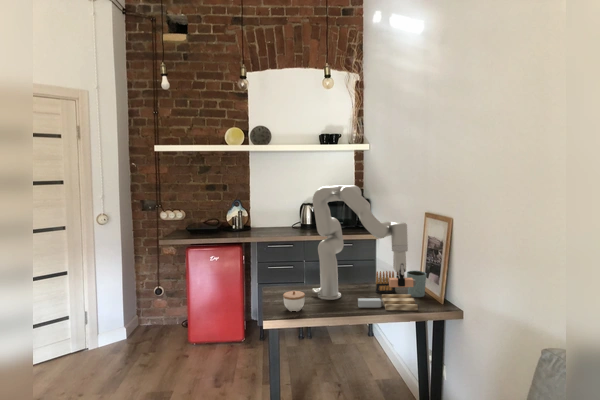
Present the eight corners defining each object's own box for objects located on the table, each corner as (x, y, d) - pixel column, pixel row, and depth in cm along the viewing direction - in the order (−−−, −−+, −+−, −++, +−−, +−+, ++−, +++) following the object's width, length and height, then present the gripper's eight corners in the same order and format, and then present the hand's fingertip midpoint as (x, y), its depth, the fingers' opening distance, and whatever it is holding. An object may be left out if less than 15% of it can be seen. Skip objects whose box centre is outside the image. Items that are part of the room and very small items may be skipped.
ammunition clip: (394, 291, 211) (394, 270, 210) (395, 292, 209) (395, 271, 208) (375, 291, 211) (375, 270, 210) (376, 292, 209) (375, 271, 208)
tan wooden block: (390, 287, 182) (390, 279, 182) (389, 285, 186) (388, 277, 186) (415, 287, 181) (415, 279, 181) (414, 284, 185) (414, 277, 184)
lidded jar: (307, 306, 190) (306, 288, 190) (302, 313, 180) (302, 294, 179) (286, 305, 193) (286, 287, 192) (281, 312, 182) (280, 293, 182)
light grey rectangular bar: (358, 307, 186) (358, 300, 186) (358, 305, 190) (357, 298, 190) (383, 307, 186) (383, 300, 185) (382, 305, 189) (382, 298, 189)
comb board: (385, 310, 182) (385, 305, 181) (381, 299, 198) (381, 294, 197) (417, 310, 180) (417, 305, 180) (410, 299, 196) (410, 294, 196)
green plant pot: (406, 291, 209) (405, 270, 208) (425, 292, 207) (425, 270, 206) (407, 297, 199) (407, 275, 198) (427, 298, 197) (427, 275, 196)
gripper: (389, 244, 191) (390, 280, 192) (394, 251, 175) (395, 290, 176) (404, 244, 190) (405, 280, 191) (411, 250, 174) (412, 290, 175)
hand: (400, 284), depth 183 cm, fingers closed on tan wooden block, 3 cm apart
